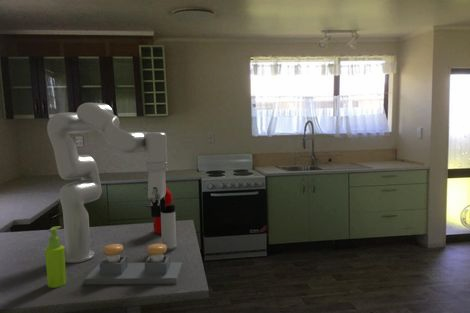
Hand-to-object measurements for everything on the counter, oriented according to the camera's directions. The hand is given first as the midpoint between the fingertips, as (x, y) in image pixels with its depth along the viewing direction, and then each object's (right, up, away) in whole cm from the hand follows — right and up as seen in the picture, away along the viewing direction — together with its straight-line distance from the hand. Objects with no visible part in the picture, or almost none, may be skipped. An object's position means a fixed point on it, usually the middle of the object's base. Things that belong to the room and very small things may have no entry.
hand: (158, 213), depth 133 cm
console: (-9, -23, +1) cm, 25 cm away
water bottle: (-9, -18, +53) cm, 57 cm away
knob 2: (-1, -18, +1) cm, 18 cm away
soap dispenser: (-35, -24, -5) cm, 42 cm away
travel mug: (-1, -20, +29) cm, 35 cm away
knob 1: (-17, -18, +1) cm, 25 cm away
